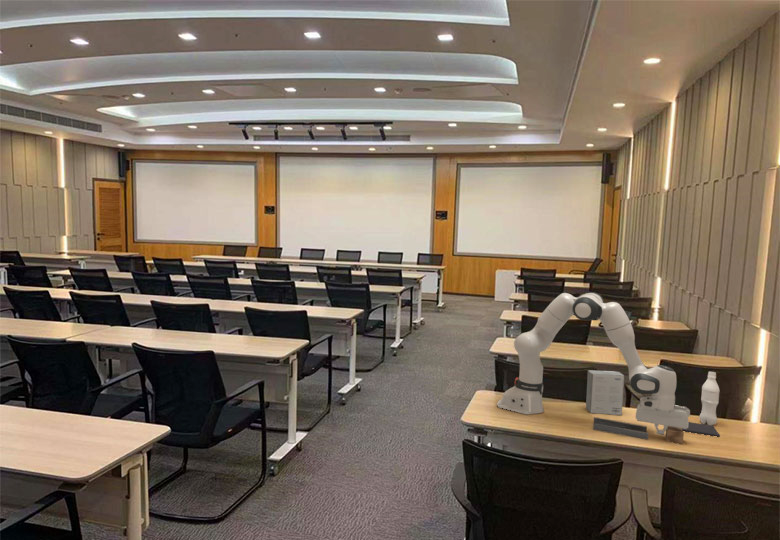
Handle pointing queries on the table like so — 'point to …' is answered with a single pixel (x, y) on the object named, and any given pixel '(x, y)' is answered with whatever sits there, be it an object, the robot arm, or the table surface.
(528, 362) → the robot arm
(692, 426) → the notebook
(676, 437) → the walnut block
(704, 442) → the table surface
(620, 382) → the hard drive box
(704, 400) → the water bottle
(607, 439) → the table surface
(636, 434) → the grey parallel rails
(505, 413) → the table surface
